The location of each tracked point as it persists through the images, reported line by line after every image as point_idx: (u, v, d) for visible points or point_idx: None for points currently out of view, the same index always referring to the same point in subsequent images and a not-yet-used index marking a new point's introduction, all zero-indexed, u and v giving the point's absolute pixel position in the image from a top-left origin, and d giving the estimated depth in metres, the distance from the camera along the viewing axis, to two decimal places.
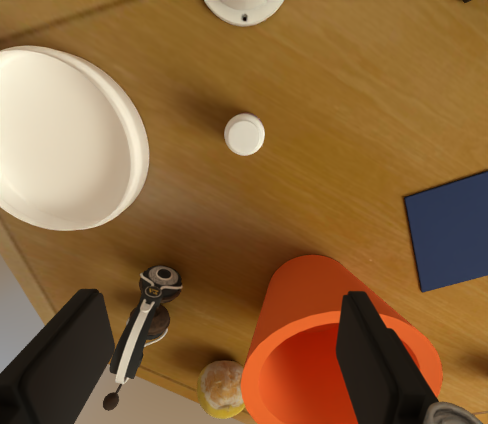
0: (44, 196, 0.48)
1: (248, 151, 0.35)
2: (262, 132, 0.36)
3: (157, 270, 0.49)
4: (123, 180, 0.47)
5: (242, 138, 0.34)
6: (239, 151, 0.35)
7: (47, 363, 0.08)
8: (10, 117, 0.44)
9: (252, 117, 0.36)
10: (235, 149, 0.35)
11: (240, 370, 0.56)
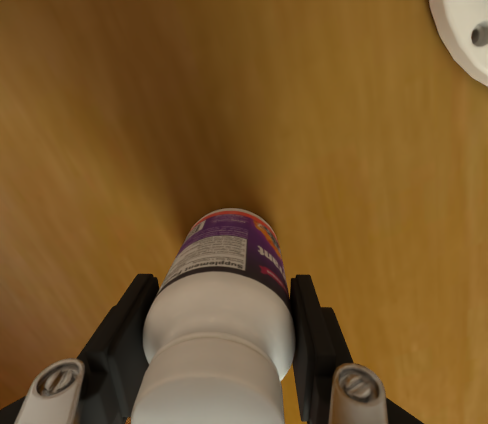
0: None
1: None
2: None
3: None
4: None
5: None
6: None
7: (126, 335, 0.09)
8: None
9: (288, 334, 0.09)
10: None
11: None
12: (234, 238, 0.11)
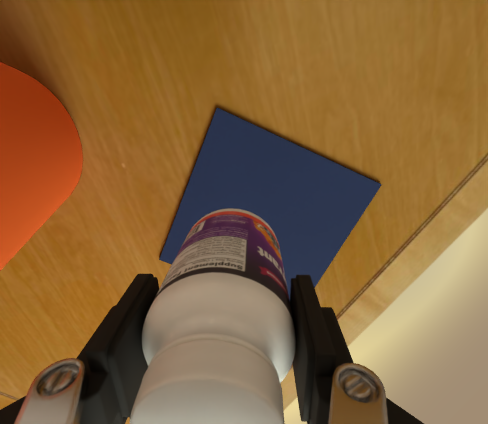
0: None
1: None
2: None
3: None
4: None
5: None
6: None
7: (126, 336, 0.09)
8: None
9: (288, 336, 0.09)
10: None
11: None
12: (234, 239, 0.11)
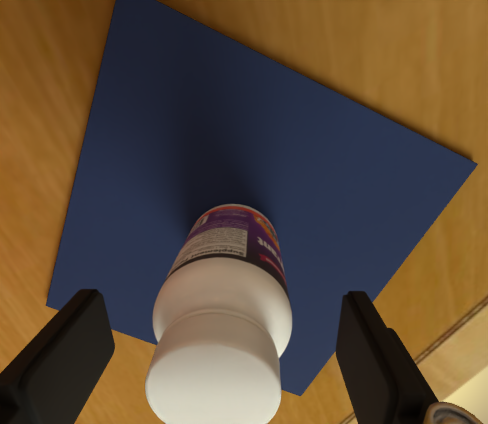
0: None
1: None
2: None
3: None
4: None
5: (207, 394, 0.08)
6: (159, 415, 0.08)
7: (48, 363, 0.08)
8: None
9: (285, 314, 0.10)
10: (153, 401, 0.08)
11: None
12: (236, 230, 0.12)
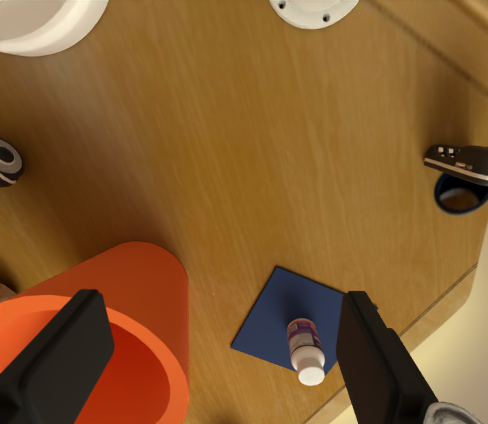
0: None
1: (305, 384, 0.43)
2: None
3: (0, 145, 0.38)
4: (42, 25, 0.35)
5: (310, 376, 0.42)
6: (300, 380, 0.43)
7: (48, 363, 0.08)
8: None
9: (323, 359, 0.44)
10: (299, 377, 0.42)
11: None
12: (308, 334, 0.47)
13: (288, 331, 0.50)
